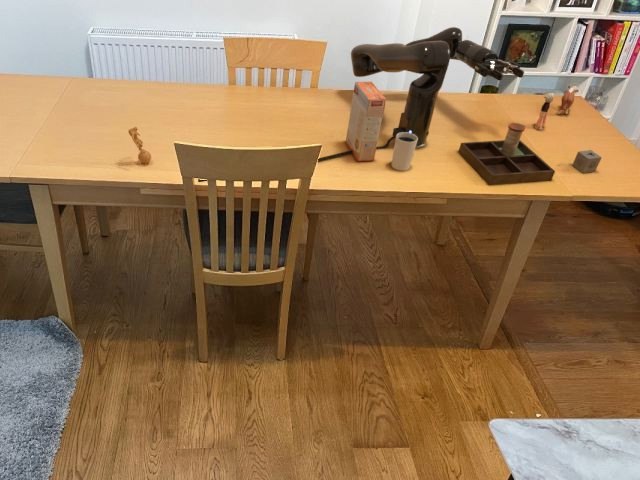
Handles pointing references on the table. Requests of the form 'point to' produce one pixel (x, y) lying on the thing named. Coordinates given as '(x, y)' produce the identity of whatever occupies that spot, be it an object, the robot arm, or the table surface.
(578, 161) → the gray cube
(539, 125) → the grandmother figurine
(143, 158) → the figurine
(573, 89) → the bull figurine
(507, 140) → the lidded canister
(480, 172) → the grid
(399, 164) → the white cup
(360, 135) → the cracker box
